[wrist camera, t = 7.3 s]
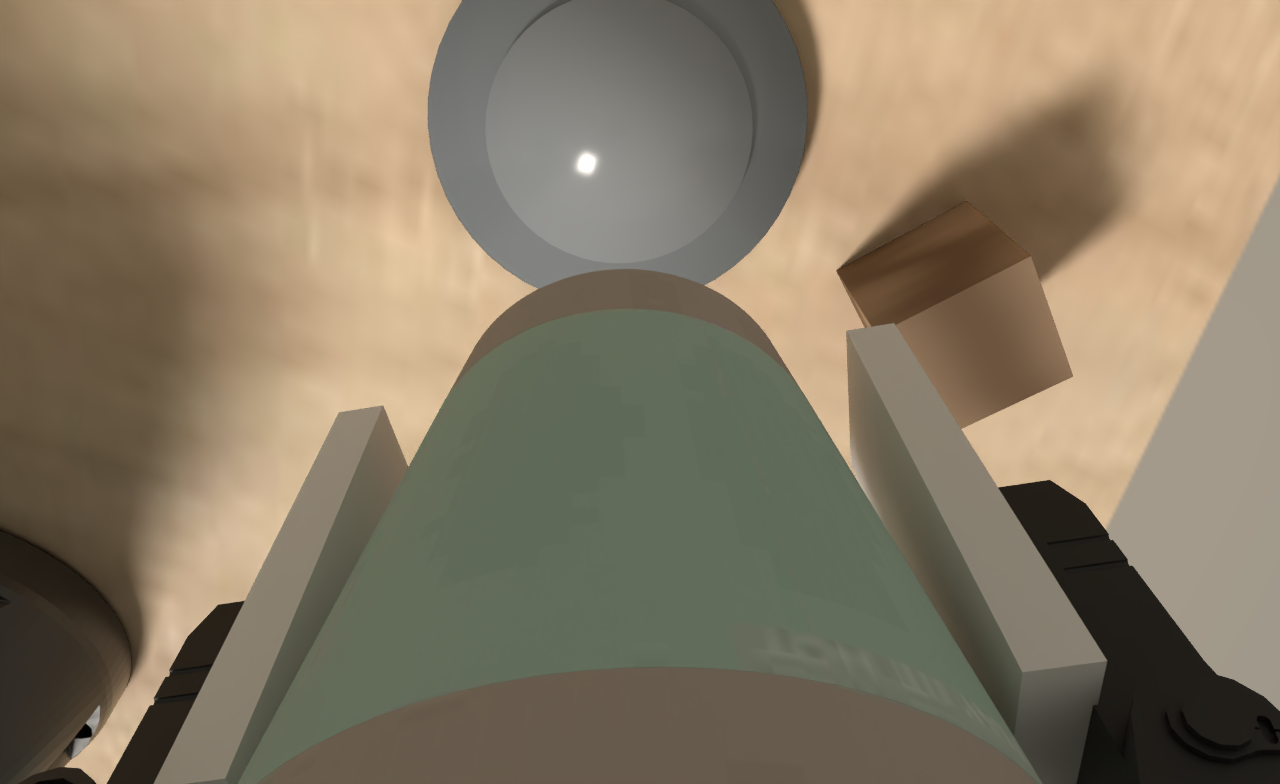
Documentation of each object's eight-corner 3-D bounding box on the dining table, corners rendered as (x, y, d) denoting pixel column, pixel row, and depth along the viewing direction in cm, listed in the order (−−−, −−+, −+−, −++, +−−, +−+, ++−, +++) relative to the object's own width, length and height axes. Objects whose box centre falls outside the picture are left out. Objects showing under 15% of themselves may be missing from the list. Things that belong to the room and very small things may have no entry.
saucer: (491, 324, 30) (488, 338, 29) (376, -35, 24) (367, -31, 23) (814, 262, 29) (821, 274, 29) (785, -124, 23) (793, -123, 22)
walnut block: (885, 369, 32) (930, 443, 28) (835, 269, 30) (876, 334, 26) (1007, 308, 31) (1073, 376, 27) (965, 200, 29) (1031, 255, 24)
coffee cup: (506, 633, 17) (361, 1713, 7) (276, 289, 13) (-961, 1848, 3) (906, 522, 16) (1428, 1660, 6) (803, 95, 11) (2249, 1740, 1)
